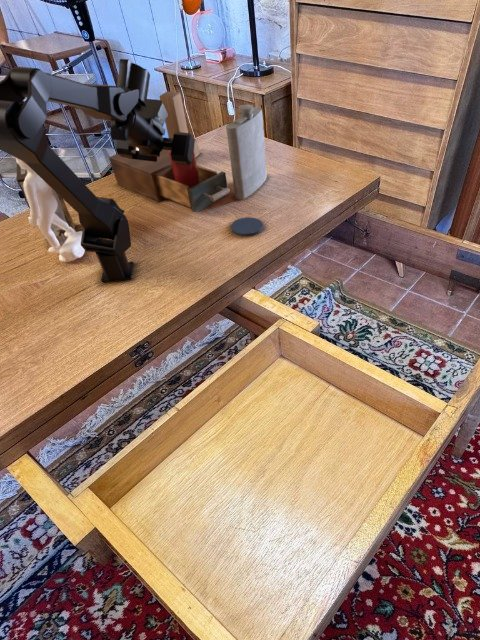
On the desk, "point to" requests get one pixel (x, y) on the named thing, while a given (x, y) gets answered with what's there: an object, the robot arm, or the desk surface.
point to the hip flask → (247, 151)
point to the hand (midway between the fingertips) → (172, 161)
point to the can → (186, 172)
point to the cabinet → (140, 173)
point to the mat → (246, 226)
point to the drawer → (193, 188)
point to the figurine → (49, 216)
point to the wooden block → (176, 116)
